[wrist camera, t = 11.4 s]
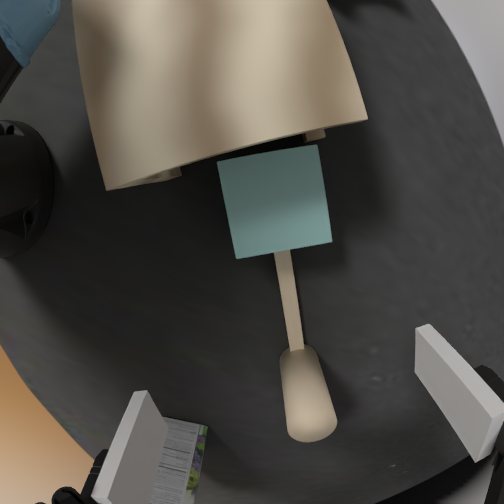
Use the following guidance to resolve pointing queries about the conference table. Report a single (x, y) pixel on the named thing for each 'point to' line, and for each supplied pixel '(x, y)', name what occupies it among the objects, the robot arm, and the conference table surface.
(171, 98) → the wooden frame
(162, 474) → the syrup box
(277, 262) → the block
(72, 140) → the conference table surface
